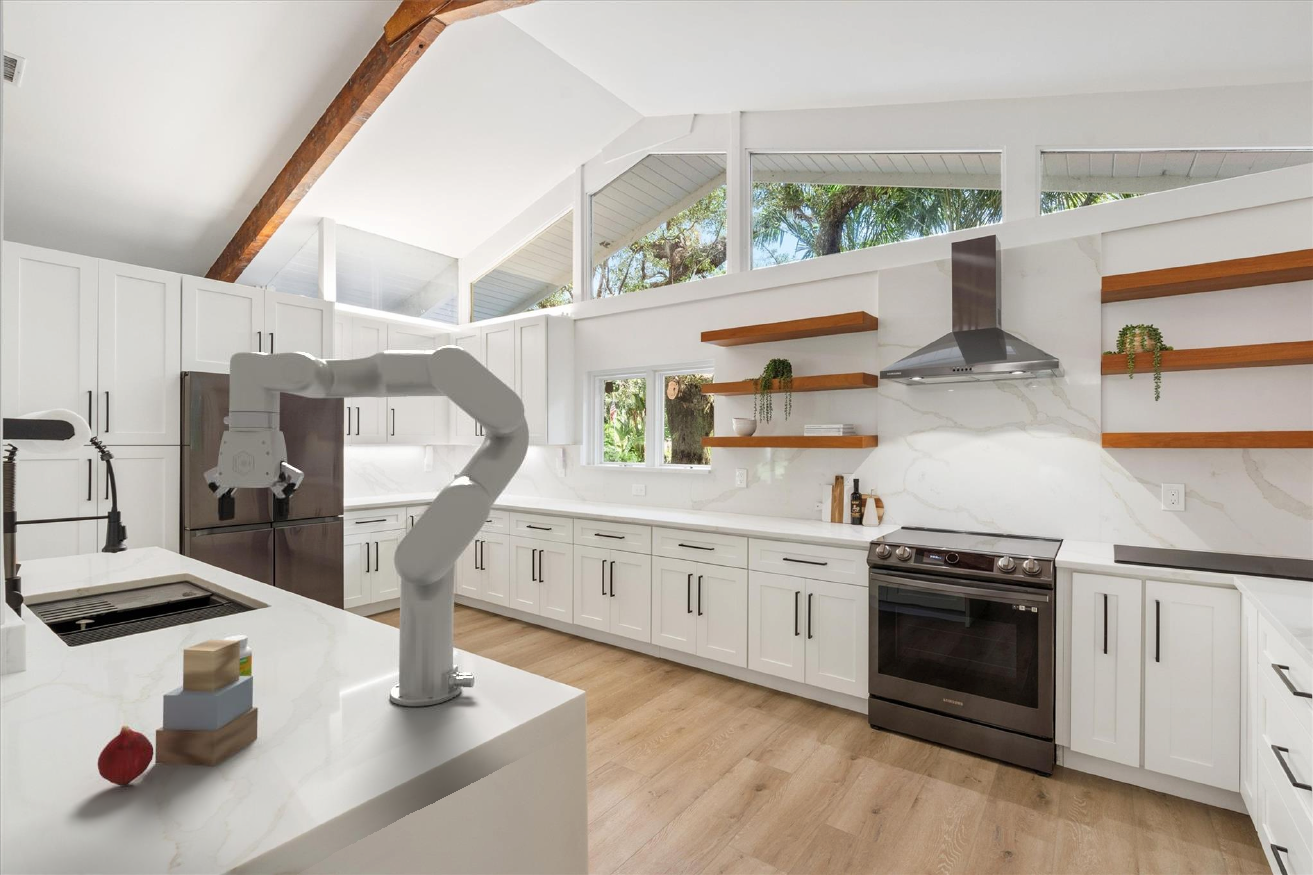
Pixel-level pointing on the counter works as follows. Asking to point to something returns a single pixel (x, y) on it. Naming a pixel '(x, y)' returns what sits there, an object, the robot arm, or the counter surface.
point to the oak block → (211, 665)
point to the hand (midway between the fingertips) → (253, 520)
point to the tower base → (206, 742)
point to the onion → (125, 757)
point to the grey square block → (207, 706)
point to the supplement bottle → (243, 655)
